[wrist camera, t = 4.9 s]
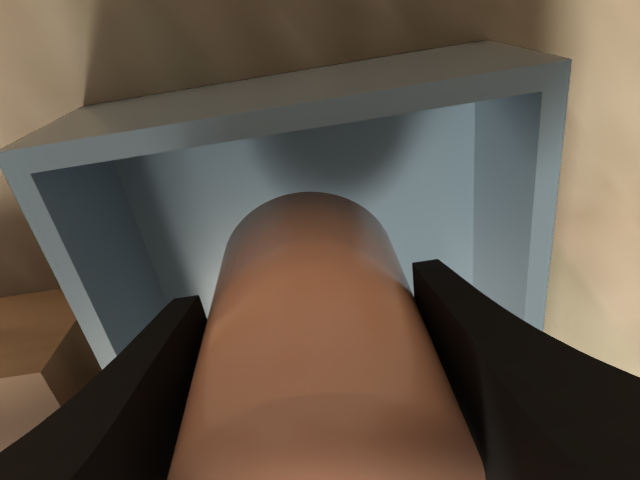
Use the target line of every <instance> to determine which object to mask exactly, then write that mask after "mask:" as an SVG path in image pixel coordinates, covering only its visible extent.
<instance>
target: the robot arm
mask: <svg viewBox="0 0 640 480" xmlns="http://www.w3.org/2000/svg"><path fill="white" fill-rule="evenodd" d="M412 271H413V287H414V298H415V301H416V303H417V306H418V308H419V311H420V313H421V315H422V318H423V320H424V323H425V325H426V327H427V330H428V332H429V335H430V337H431V339H432V342H433V344H434V347H435V349H436V352H437V354H438V356H439V359H440V361H441V364H442V366H443V368H444V371H445V373H446V376H447V378H448V380H449V383H450V385H451V388H452V390H453V393H454V395H455V397H456V400H457V402H458V405H459V407H460V409H461V412H462V414H463V417H464V419H465V421H466V424H467V426H468V429H469V431H470V433H471V436H472V438H473V441H474V443H475V446H476V448H477V450H478V453H479V455H480V458H481V460H482V463H483V467H484V471H485V480H640V377H637V376H635V375H632V374H630V373H628V372H625V371H623V370H621V369H618V368H616V367H614V366H611V365H609V364H607V363H604V362H602V361H600V360H597V359H595V358H593V357H591V356H589V355H587V354H585V353H583V352H580V351H578V350H576V349H575V348H573V347H571V346H569V345H567V344H565V343H563V342H561V341H559V340H557V339H555V338H553V337H551V336H549V335H548V334H546V333H544V332H542V331H541V330H539V329H537V328H535V327H534V326H532V325H530V324H529V323H527V322H525V321H524V320H522V319H521V318H519V317H517V316H516V315H514V314H513V313H511V312H509V311H508V310H506V309H505V308H503V307H502V306H500V305H499V304H497V303H496V302H494V301H493V300H492V299H490V298H489V297H487V296H486V295H485V294H483V293H482V292H480V291H479V290H478V289H476V288H475V287H474V286H472V285H471V284H470V283H469V282H467V281H466V280H465V279H463V278H462V277H461V276H459V275H458V274H457V273H456V272H454V271H453V270H452V269H450V268H449V267H448V266H447V265H445V264H444V263H443V262H441V261H440V260H439V259H434V260H427V261H421V262H414V263H412ZM206 323H207V318H206V315H205V312H204V309H203V306H202V303H201V300H200V297H199V295H195V296H188V297H181V298H175V299H173V300H172V301H171V302H170V303H169V304H168V305H166V306H165V307H164V308H163V309H162V310H161V311H160V312H159V314H158V315H157V316H156V317H155V318H154V319H153V320H152V321H151V322H150V323H149V324H148V325H147V326H146V327H145V328H144V329H143V330H142V331H141V332H140V333H139V334H138V335H137V336H136V337H135V338H134V339H133V340H132V341H131V342H130V343H129V344H128V345H127V346H126V347H125V348H124V349H123V350H122V351H121V352H120V353H119V354H118V355H117V356H116V357H115V358H114V359H113V360H112V361H111V362H110V363H109V364H108V365H107V366H106V367H105V368H104V369H103V370H101V371H100V372H99V373H98V374H97V375H96V376H95V377H94V378H93V379H92V380H91V381H90V382H89V383H88V384H86V385H85V386H84V387H83V388H82V389H81V390H80V391H79V392H78V393H76V394H75V395H74V396H73V397H72V398H71V399H69V400H68V401H67V402H66V403H65V404H63V405H62V406H61V407H60V408H59V409H57V410H56V411H55V412H54V413H52V414H51V415H50V416H49V417H47V418H46V419H45V420H44V421H42V422H41V423H40V424H38V425H37V426H36V427H35V428H33V429H32V430H31V431H29V432H28V433H26V434H25V435H24V436H22V437H21V438H19V439H18V440H17V441H15V442H14V443H12V444H11V445H10V446H8V447H7V448H5V449H4V450H3V451H1V452H0V480H167V478H168V474H169V470H170V466H171V462H172V458H173V454H174V450H175V446H176V442H177V438H178V434H179V430H180V426H181V422H182V418H183V414H184V410H185V406H186V402H187V398H188V394H189V390H190V386H191V382H192V378H193V374H194V370H195V366H196V362H197V358H198V354H199V350H200V346H201V342H202V339H203V335H204V331H205V327H206Z"/></svg>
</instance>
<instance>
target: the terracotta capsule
mask: <svg viewBox="0 0 640 480" xmlns="http://www.w3.org/2000/svg"><path fill="white" fill-rule="evenodd" d="M167 480H485V471H484V467H483V463H482V460H481V458H480V455H479V453H478V450H477V448H476V446H475V443H474V441H473V438H472V436H471V433H470V431H469V429H468V426H467V424H466V421H465V419H464V417H463V414H462V412H461V409H460V407H459V405H458V402H457V400H456V397H455V395H454V393H453V390H452V388H451V385H450V383H449V380H448V378H447V376H446V373H445V371H444V368H443V366H442V364H441V361H440V359H439V356H438V354H437V352H436V349H435V347H434V344H433V342H432V339H431V337H430V335H429V332H428V330H427V327H426V325H425V323H424V320H423V318H422V315H421V313H420V311H419V308H418V306H417V303H416V301H415V298H414V296H413V294H412V291H411V289H410V286H409V284H408V282H407V279H406V277H405V274H404V272H403V270H402V267H401V265H400V262H399V260H398V257H397V255H396V253H395V250H394V248H393V245H392V243H391V241H390V239H389V236H388V234H387V232H386V231H385V229H384V228H383V226H382V225H381V223H380V222H379V221H378V220H377V219H376V218H375V216H374V215H372V214H371V213H370V212H369V211H368V210H366V209H365V208H364V207H362V206H360V205H359V204H357V203H356V202H353V201H351V200H349V199H347V198H344V197H341V196H338V195H335V194H330V193H324V192H297V193H292V194H287V195H283V196H280V197H277V198H274V199H272V200H270V201H268V202H266V203H263V204H262V205H260V206H259V207H257V208H256V209H254V210H253V211H251V212H250V213H249V214H248V215H247V216H246V217H244V218H243V220H242V221H241V222H240V223H239V224H238V225H237V226H236V228H235V229H234V231H233V233H232V234H231V236H230V238H229V240H228V242H227V245H226V248H225V251H224V255H223V259H222V263H221V267H220V271H219V275H218V279H217V283H216V287H215V291H214V295H213V299H212V303H211V307H210V311H209V315H208V319H207V323H206V327H205V331H204V335H203V339H202V342H201V346H200V350H199V354H198V358H197V362H196V366H195V370H194V374H193V378H192V382H191V386H190V390H189V394H188V398H187V402H186V406H185V410H184V414H183V418H182V422H181V426H180V430H179V434H178V438H177V442H176V446H175V450H174V454H173V458H172V462H171V466H170V470H169V474H168V478H167Z"/></svg>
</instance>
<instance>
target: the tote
mask: <svg viewBox="0 0 640 480" xmlns="http://www.w3.org/2000/svg"><path fill="white" fill-rule="evenodd" d="M571 62H572V59H569V58H564V57H560V56H556V55H551V54H547V53H543V52H538V51H534V50H530V49H525V48H521V47H517V46H513V45H508V44H504V43H500V42H495V41H491V40H484V41H478V42H472V43H466V44H460V45H453V46H447V47H441V48H435V49H429V50H423V51H417V52H411V53H405V54H399V55H392V56H386V57H380V58H374V59H368V60H362V61H356V62H350V63H344V64H338V65H331V66H325V67H319V68H313V69H307V70H301V71H295V72H289V73H283V74H277V75H271V76H264V77H258V78H252V79H246V80H240V81H234V82H228V83H222V84H216V85H210V86H203V87H197V88H191V89H185V90H179V91H173V92H167V93H161V94H155V95H149V96H142V97H136V98H130V99H124V100H118V101H112V102H106V103H100V104H94V105H88V106H82V107H80V108H78V109H76V110H74V111H73V112H71V113H69V114H67V115H65V116H63V117H61V118H59V119H57V120H55V121H53V122H51V123H50V124H48V125H46V126H44V127H42V128H40V129H38V130H36V131H34V132H32V133H30V134H28V135H27V136H25V137H23V138H21V139H19V140H17V141H15V142H13V143H11V144H9V145H7V146H6V147H4V148H2V149H0V168H1V170H2V172H3V174H4V176H5V178H6V180H7V182H8V184H9V186H10V188H11V190H12V192H13V194H14V196H15V198H16V200H17V202H18V204H19V206H20V208H21V210H22V212H23V214H24V216H25V218H26V220H27V222H28V224H29V226H30V228H31V230H32V232H33V233H34V235H35V237H36V239H37V241H38V243H39V245H40V247H41V249H42V251H43V253H44V255H45V257H46V259H47V261H48V263H49V265H50V267H51V269H52V271H53V273H54V275H55V277H56V279H57V281H58V283H59V285H60V287H61V289H62V291H63V293H64V295H65V297H66V299H67V301H68V303H69V305H70V307H71V309H72V311H73V313H74V315H75V317H76V319H77V321H78V323H79V325H80V327H81V329H82V331H83V333H84V335H85V337H86V339H87V341H88V343H89V345H90V347H91V349H92V351H93V353H94V355H95V357H96V359H97V361H98V363H99V365H100V367H101V369H102V370H103V369H104V368H105V367H106V366H107V365H108V364H109V363H110V362H111V361H112V360H113V359H114V358H115V357H116V356H117V355H118V354H119V353H120V352H121V351H122V350H123V349H124V348H125V347H126V346H127V345H128V344H129V343H130V342H131V341H132V340H133V339H134V338H135V337H136V336H137V335H138V334H139V333H140V332H141V331H142V330H143V329H144V328H145V327H146V326H147V325H148V324H149V323H150V322H151V321H152V320H153V319H154V318H155V317H156V316H157V315H158V314H159V312H160V311H161V310H162V309H163V308H164V307H165V306H166V305H168V304H169V303H170V302H171V301H172V300H173V299H175V298H181V297H188V296H195V295H199V297H200V300H201V303H202V306H203V309H204V312H205V315H206V318H207V319H208V315H209V311H210V307H211V303H212V299H213V295H214V291H215V287H216V283H217V279H218V275H219V271H220V267H221V263H222V259H223V255H224V251H225V248H226V245H227V242H228V240H229V238H230V236H231V234H232V233H233V231H234V229H235V228H236V226H237V225H238V224H239V223H240V222H241V221H242V220H243V218H244V217H246V216H247V215H248V214H249V213H250V212H251V211H253V210H254V209H256V208H257V207H259V206H260V205H262V204H263V203H266V202H268V201H270V200H272V199H274V198H277V197H280V196H283V195H287V194H292V193H297V192H324V193H330V194H335V195H338V196H341V197H344V198H347V199H349V200H351V201H353V202H356V203H357V204H359V205H360V206H362V207H364V208H365V209H366V210H368V211H369V212H370V213H371V214H372V215H374V216H375V218H376V219H377V220H378V221H379V222H380V223H381V225H382V226H383V228H384V229H385V231H386V232H387V234H388V236H389V239H390V241H391V243H392V245H393V248H394V250H395V253H396V255H397V257H398V260H399V262H400V265H401V267H402V270H403V272H404V274H405V277H406V279H407V282H408V284H409V286H410V289H411V291H412V294H413V296H414V287H413V271H412V263H414V262H421V261H427V260H434V259H439V260H440V261H441V262H443V263H444V264H445V265H447V266H448V267H449V268H450V269H452V270H453V271H454V272H456V273H457V274H458V275H459V276H461V277H462V278H463V279H465V280H466V281H467V282H469V283H470V284H471V285H472V286H474V287H475V288H476V289H478V290H479V291H480V292H482V293H483V294H485V295H486V296H487V297H489V298H490V299H492V300H493V301H494V302H496V303H497V304H499V305H500V306H502V307H503V308H505V309H506V310H508V311H509V312H511V313H513V314H514V315H516V316H517V317H519V318H521V319H522V320H524V321H525V322H527V323H529V324H530V325H532V326H534V327H535V328H537V329H539V330H541V331H542V332H543V326H544V316H545V307H546V298H547V288H548V279H549V269H550V260H551V251H552V241H553V232H554V222H555V213H556V203H557V194H558V185H559V175H560V166H561V156H562V147H563V138H564V128H565V119H566V109H567V100H568V91H569V81H570V72H571Z"/></svg>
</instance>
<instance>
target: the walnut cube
mask: <svg viewBox="0 0 640 480" xmlns="http://www.w3.org/2000/svg"><path fill="white" fill-rule="evenodd" d="M101 370H102V369H101V367H100V365H99V363H98V361H97V359H96V357H95V355H94V353H93V351H92V349H91V347H90V345H89V343H88V341H87V339H86V337H85V335H84V333H83V331H82V329H81V327H80V325H79V323H78V321H77V319H76V317H75V315H74V313H73V311H72V309H71V307H70V305H69V303H68V301H67V299H66V297H65V295H64V293H63V291H62V289H61V288H60V289H53V290H46V291H40V292H33V293H27V294H20V295H14V296H7V297H0V452H1V451H3V450H4V449H5V448H7V447H8V446H10V445H11V444H12V443H14V442H15V441H17V440H18V439H19V438H21V437H22V436H24V435H25V434H26V433H28V432H29V431H31V430H32V429H33V428H35V427H36V426H37V425H38V424H40V423H41V422H42V421H44V420H45V419H46V418H47V417H49V416H50V415H51V414H52V413H54V412H55V411H56V410H57V409H59V408H60V407H61V406H62V405H63V404H65V403H66V402H67V401H68V400H69V399H71V398H72V397H73V396H74V395H75V394H76V393H78V392H79V391H80V390H81V389H82V388H83V387H84V386H85V385H86V384H88V383H89V382H90V381H91V380H92V379H93V378H94V377H95V376H96V375H97V374H98V373H99V372H100V371H101Z"/></svg>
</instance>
